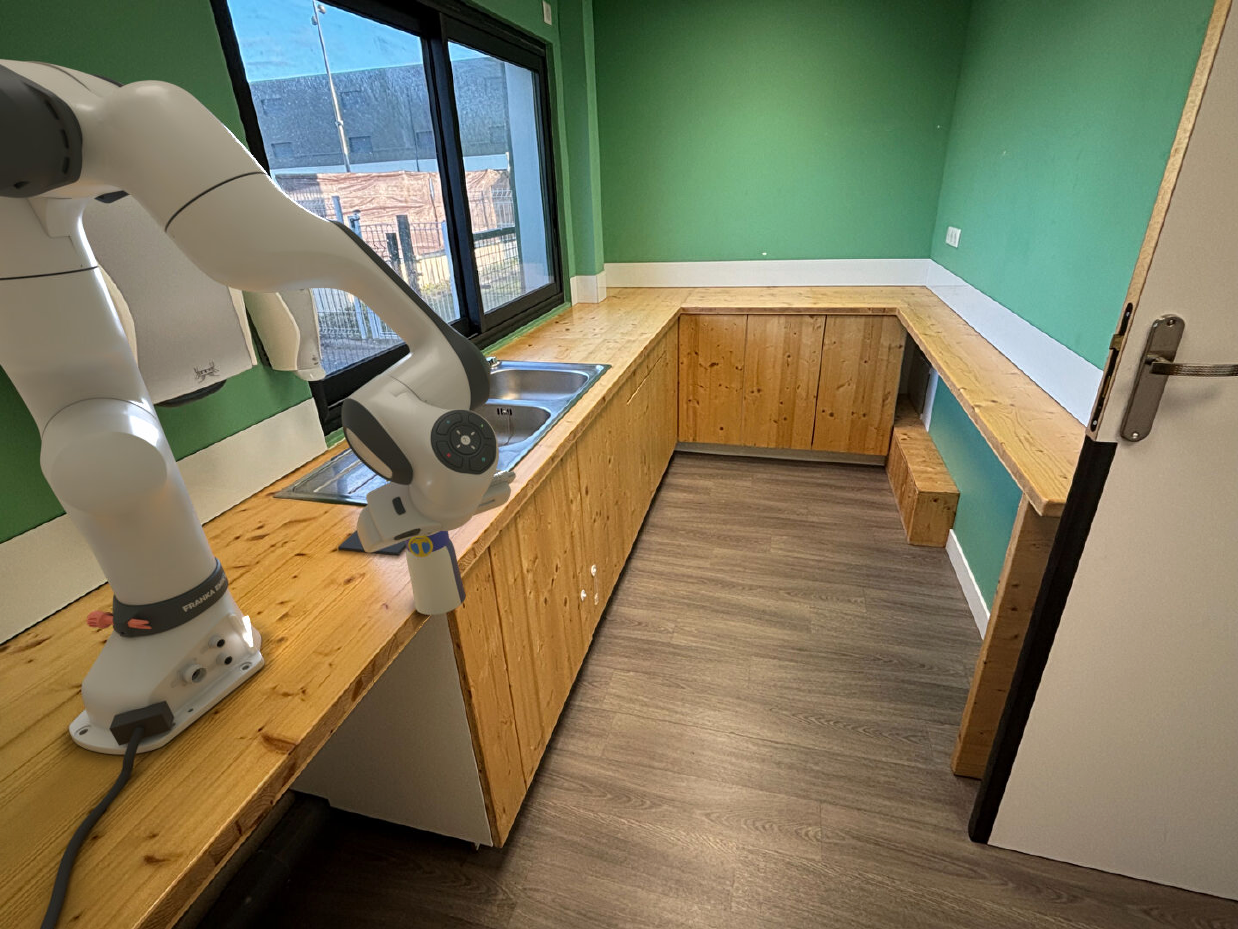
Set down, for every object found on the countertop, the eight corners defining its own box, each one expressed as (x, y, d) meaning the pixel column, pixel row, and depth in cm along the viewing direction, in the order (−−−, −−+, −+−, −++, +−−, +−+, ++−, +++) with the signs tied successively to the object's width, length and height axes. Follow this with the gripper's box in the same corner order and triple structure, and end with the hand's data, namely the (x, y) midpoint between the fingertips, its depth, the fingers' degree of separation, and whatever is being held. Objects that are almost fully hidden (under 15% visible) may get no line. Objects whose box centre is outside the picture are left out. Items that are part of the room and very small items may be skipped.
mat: (398, 555, 107) (397, 552, 106) (338, 549, 109) (337, 547, 109) (430, 520, 117) (430, 517, 117) (375, 515, 120) (374, 513, 119)
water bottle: (463, 614, 90) (432, 458, 81) (406, 618, 90) (369, 463, 82) (474, 584, 98) (447, 439, 89) (422, 589, 98) (389, 444, 89)
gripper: (509, 448, 81) (488, 485, 93) (352, 497, 71) (351, 532, 82) (528, 489, 80) (505, 522, 91) (371, 545, 69) (368, 574, 81)
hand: (431, 527), depth 87 cm, fingers closed, pressing on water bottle
